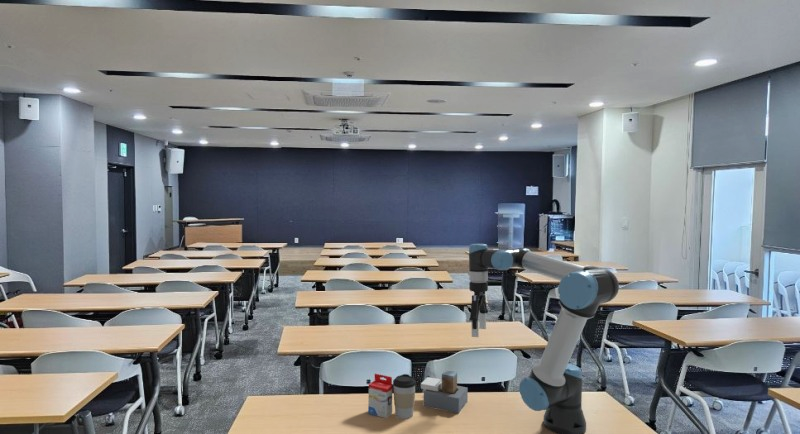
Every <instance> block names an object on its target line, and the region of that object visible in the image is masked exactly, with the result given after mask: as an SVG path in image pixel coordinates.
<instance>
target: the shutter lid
mask: <svg viewBox="0 0 800 434" xmlns="http://www.w3.org/2000/svg"><path fill="white" fill-rule="evenodd" d="M441 387H442V378H441V379H440V378H434V377H430V376H429V377H428V376H427V377H426V378H425V379H424V380H423V381H422V382H421V383H420V389H422V390H426V389H427V390H432V391H437V392H438V391H439V389H440V388H441Z"/></svg>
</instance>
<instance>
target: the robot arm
mask: <svg viewBox="0 0 800 434" xmlns="http://www.w3.org/2000/svg"><path fill="white" fill-rule="evenodd" d="M488 248H489V247H488V244H485V243H471V244H470V245H469V247H468V249H469V250H468V262H469V263H468V270H469V272H468V273H467V275H468V276H469V285H468V286H469V291H470V292H473V295H471V304H470V305H471V307H470V314H469V315H470V317H469V318H468V319H469V320H468V321H471V337H473V338H479V337H480V336H479V334H480V331H479V329H480V330H486V329H487V314H488V313H489V311H488V308H487V307H488V306H487V299H486V292H488V290H489V283H488V280H489V277H488V276H489V275H488V274H489V271H488V269H492V270H493V269H494V270H498V271H508V270H509V269H510V268H511V269H512V268H519V269H522V270H526V271H529V272H532V273H534V274H537V275H541V276H545V277H548V278H550V279H553V280H557V281H559V283H558V288H557V293H558V294H559V295H558V298H559V301H558V302H559V303H558V304H559V306H560V307H561V308H560V311H559V314H558V317H557V319H556V321H555V324H554V326H553V328H552V331H551V333H550V336H549V338H548V341H547V342H546V345H545V348H544V351H543V354H542V355H541V358H540V361H539V362H537V363H535V364H534V365H532V369H531V371H530V373H529V375H528V376H526V377H524V378H522V379H521V380H520V382H519V387H518V390H519V394H520V398H521V399H522V401H523V403H524V404H525V405H526V406H527V407H528V408H529V409H531V410H532V411H535V412H541V411H544V414H543V425H544V426H545V428H547V429H548V430H550V431H552V432H553V433H557V434H584V433H586V431H587V421H586V418H585V414H584V411H583V408H582V401H583V400H582V398H583V395H582V393H583V392H582V391H583V389H582V388H583V372H582V370H581V368H580V367H579V366H577V365H574V364H571V363H569V362H570V360H571V358H572V355H573V353H574V351H575V348H576V347H577V344H578V342H579V340H580V337H581V335H582V333H583V330H584V327H585V326H586V323H587V320H589V319H592V318H594V317H595V316H596V313H597V311H598V309H599V306H600V305H602V304H606V303H610V302H611V301H612V300H614V299H615V298H616V296H617V295H618V293H619V290H620V285H619V284H620V283H619V280H618V278H617V277H616V275H615V274H614V273H613V272H612V271H610V270H608V269H607V268H602V267H599V266H594V265H591V264H588V265H585V266H584V265H581V264H580V265H579V264H577V263H576V264H575V263H572V262H569V261H566V260H561V259H559V258H554V257H551V256H548V255H543V254H540V253H536V252H533V251H531V250H530V249H529V248H525V247H517V248H507V249H506V248H505V249H488Z"/></svg>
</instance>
